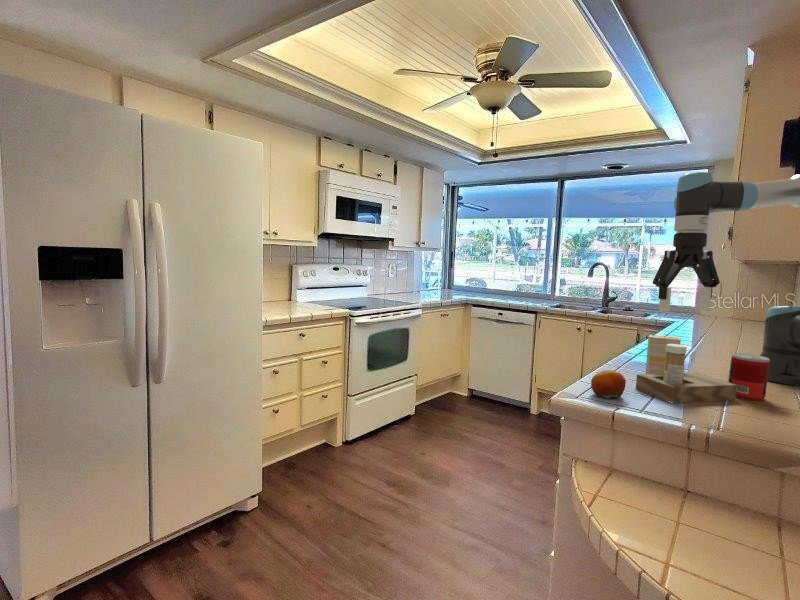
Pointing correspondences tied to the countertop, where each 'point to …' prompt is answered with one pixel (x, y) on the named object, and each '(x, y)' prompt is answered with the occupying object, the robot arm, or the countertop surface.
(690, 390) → the caddy
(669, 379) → the sprinkles bottle
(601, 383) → the fruit
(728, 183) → the robot arm
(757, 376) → the canned food
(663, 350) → the supplement box
